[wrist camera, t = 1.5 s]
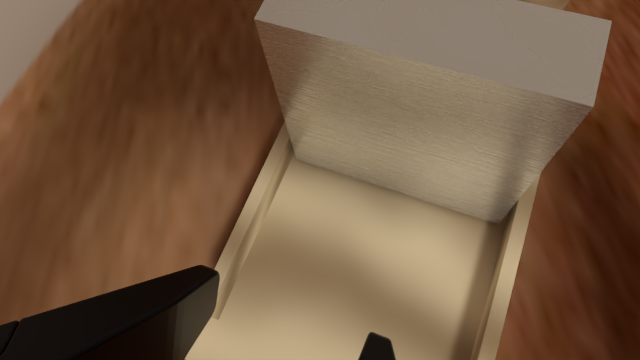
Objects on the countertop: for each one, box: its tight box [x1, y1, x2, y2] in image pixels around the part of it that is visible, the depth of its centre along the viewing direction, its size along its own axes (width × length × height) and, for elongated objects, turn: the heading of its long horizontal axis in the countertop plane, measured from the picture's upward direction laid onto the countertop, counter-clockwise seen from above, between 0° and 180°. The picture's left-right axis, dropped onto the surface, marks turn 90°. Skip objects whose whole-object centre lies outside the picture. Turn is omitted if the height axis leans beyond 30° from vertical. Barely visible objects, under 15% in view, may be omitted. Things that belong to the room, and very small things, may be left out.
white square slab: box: [254, 0, 612, 224], centre depth 19 cm, size 3×10×10 cm, turn 69°
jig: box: [185, 0, 569, 360], centre depth 21 cm, size 22×12×8 cm, turn 159°
